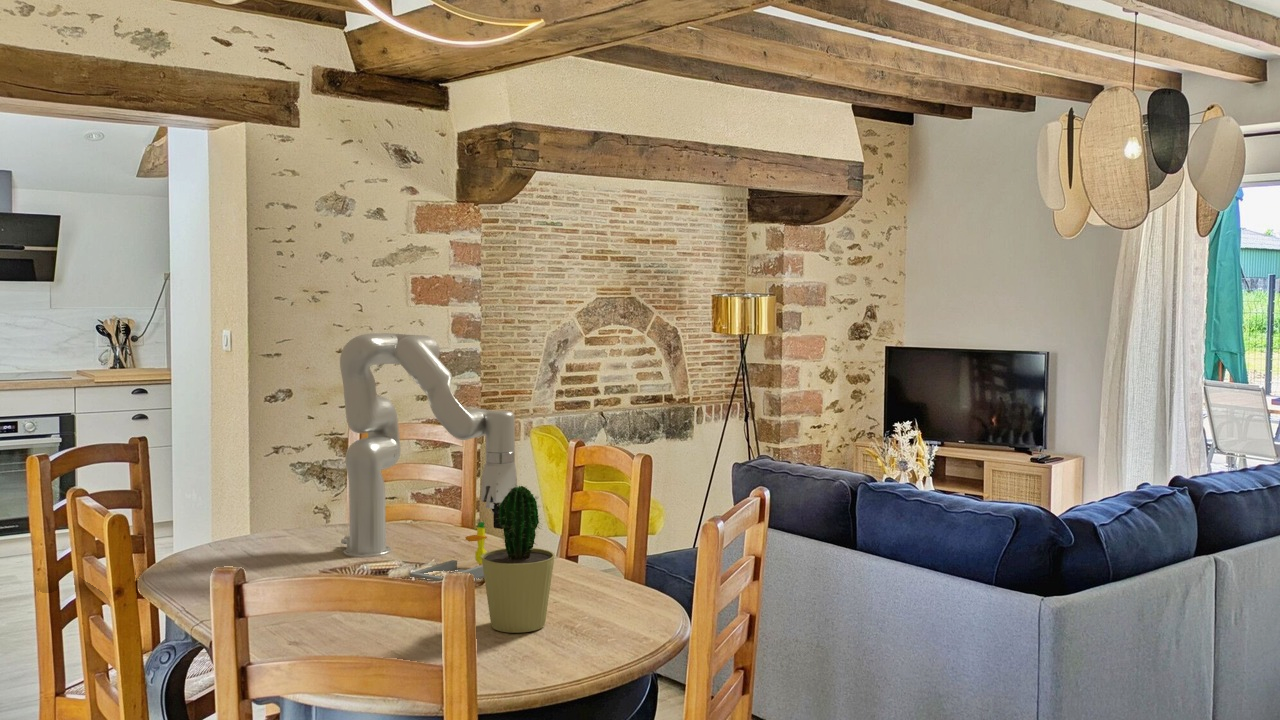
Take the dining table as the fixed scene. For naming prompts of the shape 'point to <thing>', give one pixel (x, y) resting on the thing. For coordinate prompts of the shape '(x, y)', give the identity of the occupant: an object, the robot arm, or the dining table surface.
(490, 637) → the dining table surface
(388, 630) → the dining table surface
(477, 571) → the u rest
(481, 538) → the toy figure
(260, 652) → the dining table surface
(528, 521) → the potted cactus
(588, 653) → the dining table surface
